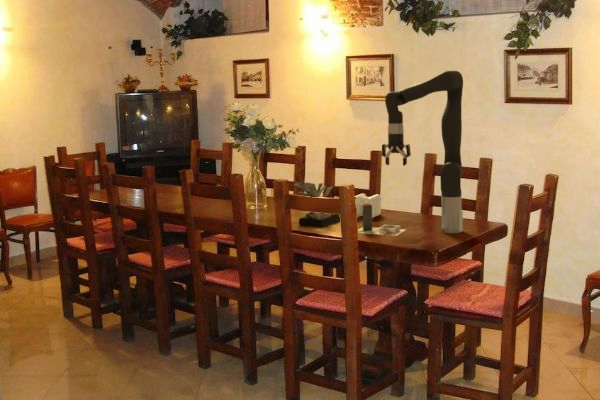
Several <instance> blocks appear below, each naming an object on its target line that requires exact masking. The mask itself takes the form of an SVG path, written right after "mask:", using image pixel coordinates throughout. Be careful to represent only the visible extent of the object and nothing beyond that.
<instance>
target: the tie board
mask: <svg viewBox="0 0 600 400" xmlns="http://www.w3.org/2000/svg"><path fill="white" fill-rule="evenodd" d="M357 230H358V233H357V234H364V235H365V234H368V235H383V236H395V237H396V236H398V235H399V236H400V234H401V233H403V232H405V231H407V229H406V228H405V229H403V228H401V226H400V225H397V224H396V225H394V224H383V225H381V226H380V227H373V226H372V230H370V231H365V230H363V226H362V227H360V228H359V229H357Z"/></svg>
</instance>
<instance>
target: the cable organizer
mask: <svg viewBox="0 0 600 400" xmlns="http://www.w3.org/2000/svg"><path fill="white" fill-rule="evenodd" d="M354 197H356V199H355V201H356V208H357V218H356V219H358V218H360V217H363V205H364V204H365V202H370V204H371V205H372V219H373V218H376V217H378V216H380V214H381V213H382V203H381V202H382V196H381V194H377V193H376V194H374V195H371V196H367V194H366V193H360V194H357V195H355V196H354Z"/></svg>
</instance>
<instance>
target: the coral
mask: <svg viewBox="0 0 600 400" xmlns="http://www.w3.org/2000/svg"><path fill="white" fill-rule="evenodd" d="M323 185H324V184H323V183H322V182H321V183H318V185H317V188H316V184H315V183H311V182H305V181H304V180H302V181H300V182H296V183H293V186H294V187H296V188H297V189H299V190H302V191H299V192H298V194H299V195H301V196H303V195H304V196H303V197H305V196H310V197H318V198H319V197H325V198H327V196H329V194H330V192H331V190H333V188H334V184H332V185H331V186H328V187H327V186H326V185H325V186H323ZM321 195H322V196H321ZM298 222H299V223H298V225H300V227H309V228H325V227H327V226H328V227H329V226H330V225H331V226H332V225H333V224H337V223H339V222H341V221H340V217H339V214H324V213H315V212H311V211H309V212H306V213H305V216H303V217H300V218H299V219H298Z"/></svg>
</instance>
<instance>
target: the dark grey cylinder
mask: <svg viewBox="0 0 600 400" xmlns="http://www.w3.org/2000/svg"><path fill="white" fill-rule="evenodd" d="M362 227H363V230H365V231H370V230H372V227H373V218H372V205H371V204H370V202H365V204H364V205H363V216H362Z"/></svg>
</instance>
